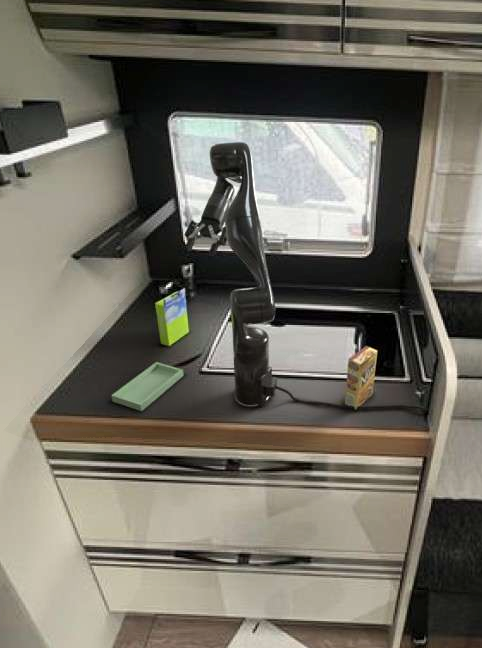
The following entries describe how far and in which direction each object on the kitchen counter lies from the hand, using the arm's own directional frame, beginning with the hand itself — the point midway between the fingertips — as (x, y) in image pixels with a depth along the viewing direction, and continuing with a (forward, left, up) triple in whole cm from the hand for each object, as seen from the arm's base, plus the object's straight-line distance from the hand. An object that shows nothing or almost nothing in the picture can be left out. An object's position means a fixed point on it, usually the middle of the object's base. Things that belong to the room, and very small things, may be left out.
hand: (199, 252), depth 130 cm
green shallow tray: (-5, +33, -29) cm, 44 cm away
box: (+6, +9, -29) cm, 31 cm away
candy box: (-61, +14, -29) cm, 70 cm away
